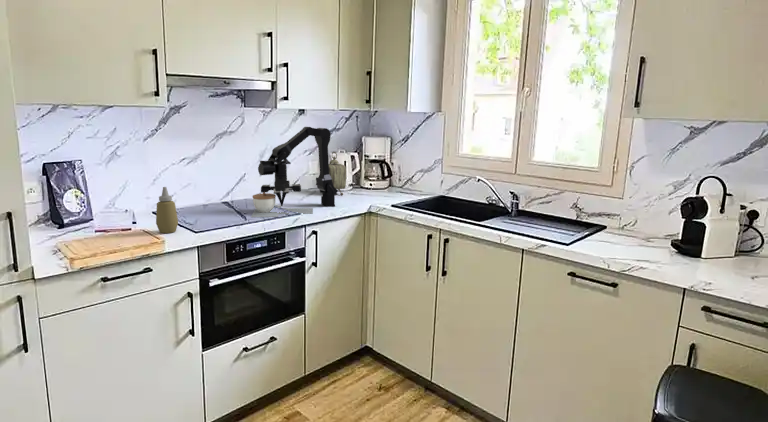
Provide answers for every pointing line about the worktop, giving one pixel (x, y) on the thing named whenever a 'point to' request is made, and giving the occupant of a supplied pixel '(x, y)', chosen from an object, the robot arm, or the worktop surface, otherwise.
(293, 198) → the worktop surface
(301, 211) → the t mat
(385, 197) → the worktop surface
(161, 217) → the squeeze bottle
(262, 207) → the lidded jar
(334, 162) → the olive tall container
